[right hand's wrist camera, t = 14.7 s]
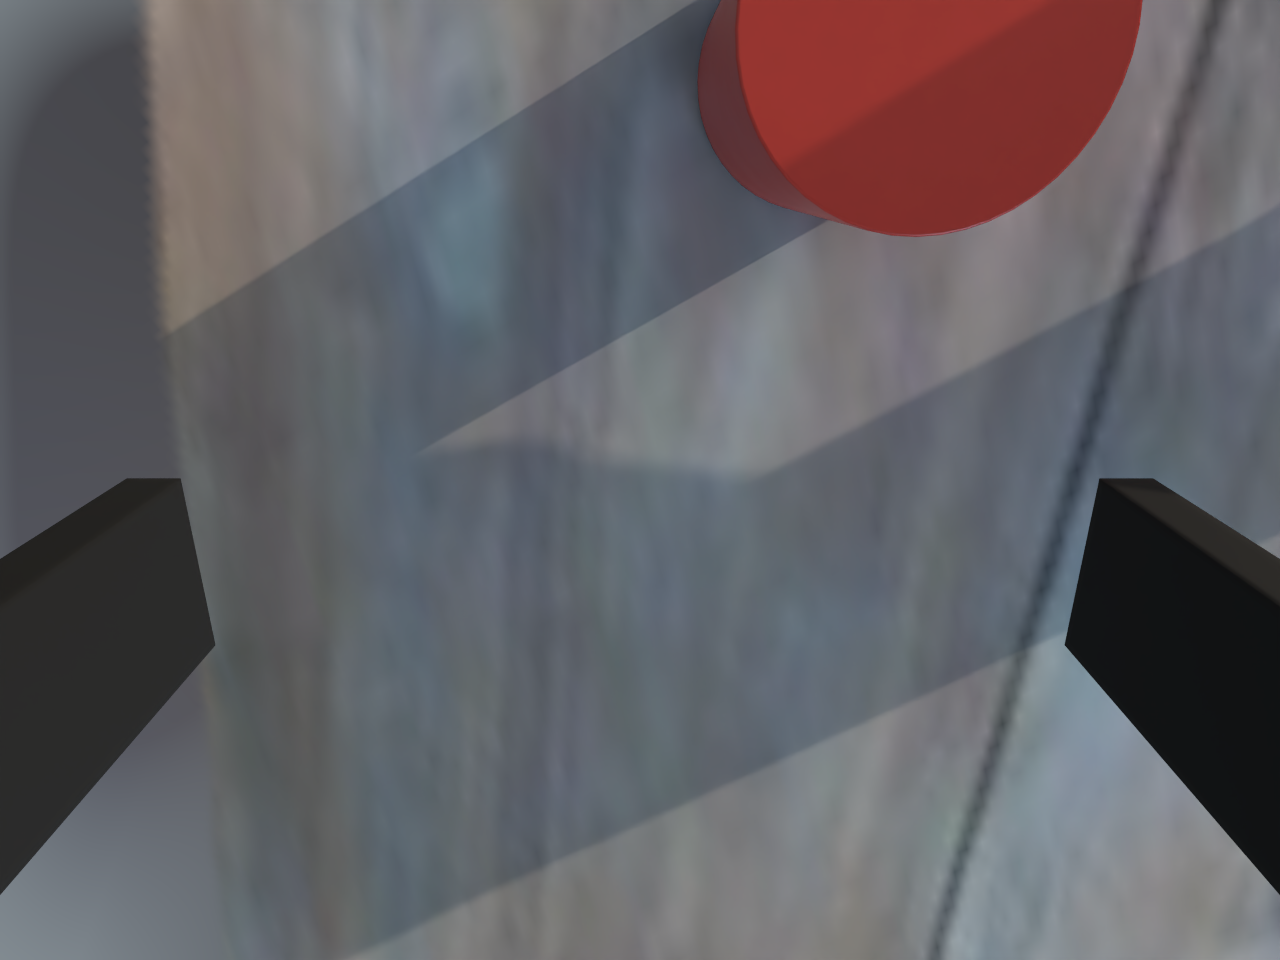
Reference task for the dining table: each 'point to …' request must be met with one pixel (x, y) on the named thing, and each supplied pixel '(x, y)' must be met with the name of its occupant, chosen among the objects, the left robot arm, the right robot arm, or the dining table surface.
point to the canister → (909, 102)
